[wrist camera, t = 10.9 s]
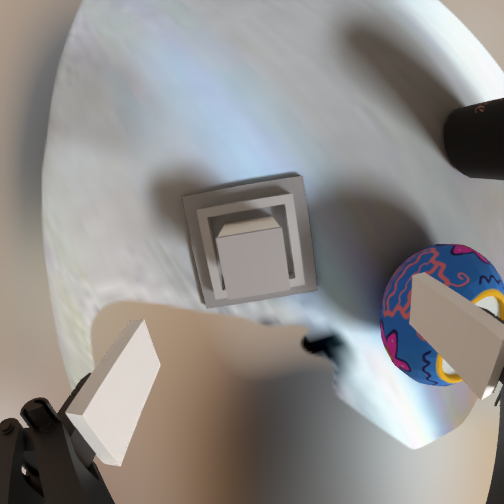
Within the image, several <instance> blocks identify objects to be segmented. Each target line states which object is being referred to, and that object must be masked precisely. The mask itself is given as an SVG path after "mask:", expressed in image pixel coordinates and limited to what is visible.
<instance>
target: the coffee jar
mask: <svg viewBox="0 0 504 504" xmlns="http://www.w3.org/2000/svg"><path fill="white" fill-rule="evenodd" d="M444 140H445V146H446V149H447V152H448V155H449V157H450V159H451V161H452V162H453V164H454V165H455V166H456V167H457V168H458V170H459V171H460V172H461V173H463V174H464V175H466V176H468V177H470V178H483V179H496V180H504V98H501V99H496V100H492V101H487V102H483V103H479V104H474V105H470V106H466V107H462V108H459V109H456V110H454V111H453V112H452V113H451V114H450V115H449V117H448V120H447V122H446V125H445V130H444Z"/></svg>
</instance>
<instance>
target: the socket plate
mask: <svg viewBox="0 0 504 504" xmlns="http://www.w3.org/2000/svg"><path fill="white" fill-rule="evenodd" d="M182 201H183V206H184V211H185V216H186V221H187V226H188V230H189V235H190V240H191V244H192V249H193V254H194V258H195V263H196V267H197V271H198V276H199V280H200V284H201V288H202V292H203V296H204V300H205V304H206V308H214V307H221V306H228V305H234V304H241V303H247V302H253V301H259V300H265V299H271V298H277V297H283V296H288V295H294V294H299V293H305V292H310V291H315V290H317V281H316V272H315V263H314V254H313V246H312V238H311V230H310V222H309V215H308V208H307V201H306V194H305V188H304V181H303V176H297V177H290V178H283V179H277V180H270V181H264V182H258V183H252V184H246V185H240V186H235V187H229V188H224V189H218V190H213V191H208V192H203V193H198V194H193V195H188V196H184V197H182ZM269 216H273V218H274V219H275V220H276V222H277V223H278V224H279V226H280V227H282V231H283V238H284V245H285V252H286V260H287V267H288V274H289V282H290V290H287V291H281V292H275V293H269V294H263V295H256V296H250V297H244V298H237V299H230V300H228V297H227V292H226V288H225V283H224V278H223V273H222V268H221V263H220V258H219V253H218V248H217V243H216V237H218V235H219V233H220V231H221V230H222V228H223V226H224V224H227V223H232V222H238V221H244V220H250V219H256V218H262V217H269Z"/></svg>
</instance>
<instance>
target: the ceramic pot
mask: <svg viewBox="0 0 504 504" xmlns="http://www.w3.org/2000/svg"><path fill="white" fill-rule="evenodd" d="M423 272H425V273H426V274H428V275H430V276H431V277H433V278H435V279H436V280H438V281H439V282H441V283H443V284H444V285H446V286H447V287H449V288H451V289H452V290H454V291H455V292H457V293H458V294H460V295H461V296H463V297H464V298H466V299H468V300H469V301H471V302H472V303H474V304H475V305H477V306H479V307H482V308H485V309H487V310H489V311H491V312H492V313H493V314H495V316H498V317H499V318H501V320H504V283H503V281H502V279H501V277H500V275H499V274H498V272H497V271H496V269H495V267H494V266H493V265H492V264H491V263H490V261H488V260H487V259H486V258H485V257H484V256H482V255H481V254H480V253H478V252H476V251H475V250H473V249H471V248H470V247H467V246H465V245H459V244H436V245H433V246H430V247H428V248H426V249H424V250H422V251H420V252H417V253H415V254H413V255H412V256H410V257H409V258H408V259H406V260H405V261H404V262H403V263H402V264H401V265H400V266H399V267H398V268H397V269H396V271H395V272H394V274H393V275H392V277H391V278H390V280H389V282H388V284H387V286H386V288H385V291H384V295H383V299H382V304H381V309H380V327H381V337H382V341H383V344H384V347H385V349H386V351H387V353H388V355H389V357H390V358H391V360H392V362H393V363H394V365H395V366H397V367H398V368H399V369H400V370H401V371H403V372H404V373H405V374H407V375H408V376H409V377H411V378H412V379H414V380H415V381H417V382H419V383H423V384H427V385H435V386H448V385H452V384H455V383H459V382H462V381H464V380H463V379H462V378H461V377H460V376H459V375H458V374H457V373H456V372H455V371H454V370H453V368H452V367H451V366H450V365H449V364H448V363H447V362H446V361H445V360H444V359H443V358H442V357H441V356H440V355H439V354H438V352H437V351H436V350H435V349H434V348H433V347H432V346H431V345H430V344H429V343H428V342H427V341H426V340H425V339H424V338H423V337H422V336H421V335H420V334H419V333H418V332H417V331H416V330H415V329H414V328H413V327H412V326H411V325H410V324H409V320H410V308H411V294H412V275H415V274H419V273H423Z"/></svg>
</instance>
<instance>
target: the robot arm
mask: <svg viewBox="0 0 504 504" xmlns="http://www.w3.org/2000/svg"><path fill="white" fill-rule="evenodd" d="M409 324H410V325H411V326H412V327H413V328H414V329H415V330H416V331H417V332H418V333H419V334H420V335H421V336H422V337H423V338H424V339H425V340H426V341H427V342H428V343H429V344H430V345H431V346H432V347H433V348H434V349H435V350H436V351H437V352H438V354H439V355H440V356H441V357H442V358H443V359H444V360H445V361H446V362H447V363H448V364H449V365H450V366H451V367H452V368H453V370H454V371H455V372H456V373H457V374H458V375H459V376H460V377H461V378H462V379H463V380H464V382H465V383H466V384H467V385H468V386H469V387H470V388H471V389H472V391H473V392H474V393H475V394H476V395H477V396H478V397H479V399H480V400H482V399H484V398H485V397H487V396H489V395H490V394H492V393H494V391H495V388H496V386H497V384H498V381H500V382H501V383H502V384H503V386H502V388H501V391H500V393H499V395H498V397H497V400H496V402H495V406H497V404H498V402H499V400H500V423H499V434H498V443H497V451H496V458H495V464H494V470H493V475H492V480H491V485H490V490H489V493H488V498H487V501H486V504H504V320H501V318H499V317H498V316H495V314H493V313H492V312H491V311H489V310H487V309H485V308H482V307H479V306H477V305H475V304H474V303H472V302H471V301H469V300H468V299H466V298H464V297H463V296H461V295H460V294H458V293H457V292H455V291H454V290H452V289H451V288H449V287H447V286H446V285H444V284H443V283H441V282H439V281H438V280H436V279H435V278H433V277H431V276H430V275H428V274H426V273H425V272H423V273H419V274H415V275H412V294H411V308H410V320H409ZM160 366H161V365H160V362H159V360H158V357H157V355H156V352H155V349H154V346H153V344H152V341H151V338H150V335H149V332H148V329H147V327H146V324H145V321H144V319H141V320H130V322H129V323H128V324H127V326H126V327H125V328H124V330H123V331H122V332H121V334H120V335H119V336H118V338H117V339H116V340H115V342H114V343H113V344H112V346H111V347H110V348H109V350H108V351H107V353H106V354H105V355H104V357H103V358H102V359H101V361H100V362H99V364H98V365H97V366H96V368H95V369H94V371H93V372H92V373H89V374H87V375H86V376H85V377H84V378H82V379H81V380H80V382H79V383H78V384H77V386H76V387H75V388H76V389H74V390H73V391H72V393H71V395H70V396H69V397H68V399H67V400H66V402H65V403H64V404H63V406H62V407H61V409H60V410H59V412H58V413H56V412H55V410H54V409H53V407H52V406H51V404H50V403H49V401H48V400H47V399H45V398H35V399H33V400H30V401H28V402H27V403H26V404H25V405H24V406H23V408H22V409H21V412H20V415H21V416H22V418H23V419H24V421H25V422H26V423H27V425H28V426H29V427H30V428H23V427H22V425H21V424H20V423H19V421H18V420H17V419H15V418H8V419H5V420H4V421H2V422H1V423H0V504H115V503H114V501H113V499H112V497H111V495H110V493H109V491H108V489H107V487H106V485H105V483H104V481H103V479H102V476H101V474H100V472H99V470H98V467H97V466H96V464H95V463H94V462H93V459H94V456H95V454H96V455H97V456H98V457H99V459H100V460H101V461H102V462H103V463H105V464H110V465H116V466H121V463H122V461H123V458H124V455H125V453H126V450H127V447H128V445H129V442H130V440H131V437H132V435H133V432H134V429H135V427H136V424H137V422H138V419H139V417H140V414H141V412H142V409H143V407H144V404H145V402H146V399H147V397H148V394H149V392H150V390H151V387H152V385H153V382H154V380H155V377H156V375H157V373H158V371H159V368H160ZM22 466H23V467H24V469H26V475H24V474H23V473H22V470H21V468H22Z"/></svg>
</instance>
